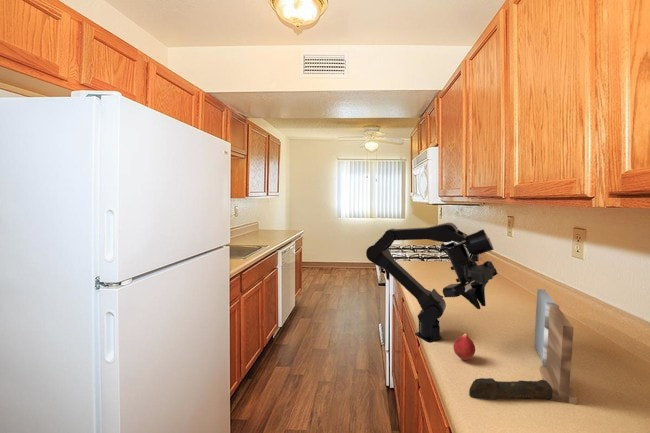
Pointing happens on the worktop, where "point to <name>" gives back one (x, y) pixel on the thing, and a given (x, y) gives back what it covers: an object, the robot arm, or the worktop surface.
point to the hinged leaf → (541, 321)
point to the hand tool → (509, 389)
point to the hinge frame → (558, 354)
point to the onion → (464, 347)
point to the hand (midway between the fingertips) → (481, 307)
